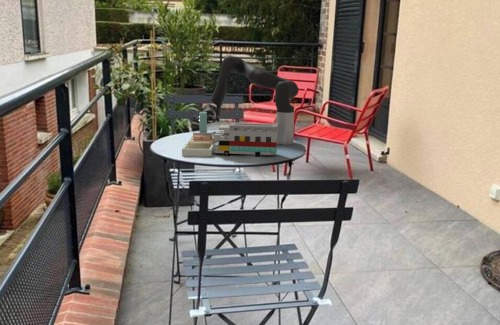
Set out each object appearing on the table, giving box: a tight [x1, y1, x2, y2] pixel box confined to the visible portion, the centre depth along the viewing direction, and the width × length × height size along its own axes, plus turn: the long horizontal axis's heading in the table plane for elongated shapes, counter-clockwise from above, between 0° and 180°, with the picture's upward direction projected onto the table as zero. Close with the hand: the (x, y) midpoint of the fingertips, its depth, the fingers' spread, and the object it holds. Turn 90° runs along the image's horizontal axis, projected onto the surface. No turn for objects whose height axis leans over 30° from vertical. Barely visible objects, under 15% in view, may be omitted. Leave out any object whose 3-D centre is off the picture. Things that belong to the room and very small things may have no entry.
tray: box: [181, 143, 214, 158], centre depth 241 cm, size 11×14×3 cm
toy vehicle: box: [213, 122, 278, 158], centre depth 239 cm, size 8×30×15 cm, turn 84°
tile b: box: [192, 135, 202, 141], centre depth 253 cm, size 4×4×2 cm
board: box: [187, 135, 217, 149], centre depth 256 cm, size 18×12×4 cm, turn 178°
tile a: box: [202, 135, 210, 141], centre depth 253 cm, size 4×4×2 cm
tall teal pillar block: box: [192, 111, 213, 138], centre depth 258 cm, size 5×10×13 cm, turn 88°
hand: (204, 120), depth 265 cm, fingers open, 8 cm apart
